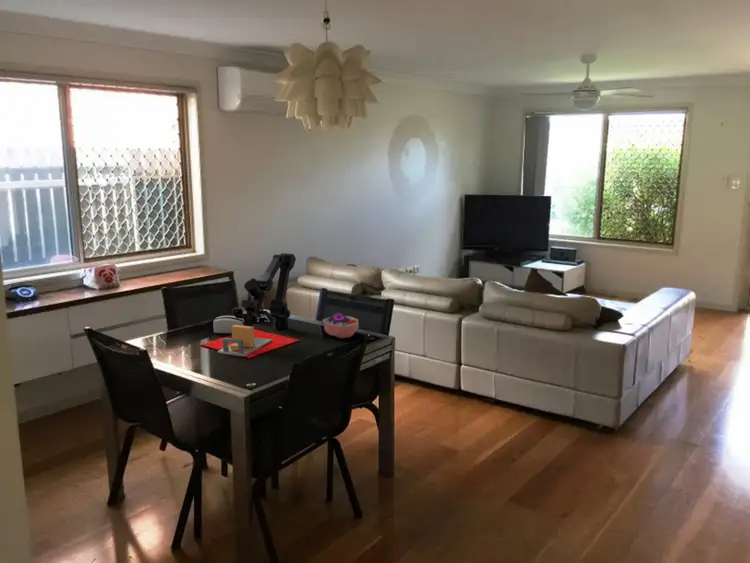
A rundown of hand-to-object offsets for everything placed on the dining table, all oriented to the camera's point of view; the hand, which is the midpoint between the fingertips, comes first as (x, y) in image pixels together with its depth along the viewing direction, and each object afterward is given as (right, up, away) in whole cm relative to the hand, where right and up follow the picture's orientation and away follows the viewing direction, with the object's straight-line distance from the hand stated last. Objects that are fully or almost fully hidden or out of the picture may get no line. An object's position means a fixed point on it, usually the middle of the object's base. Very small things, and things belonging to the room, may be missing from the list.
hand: (244, 330), depth 297 cm
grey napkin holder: (-13, -3, +25) cm, 29 cm away
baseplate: (0, -8, +2) cm, 8 cm away
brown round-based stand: (-4, +2, +50) cm, 50 cm away
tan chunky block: (-2, -8, -3) cm, 8 cm away
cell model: (+44, -5, +17) cm, 47 cm away
